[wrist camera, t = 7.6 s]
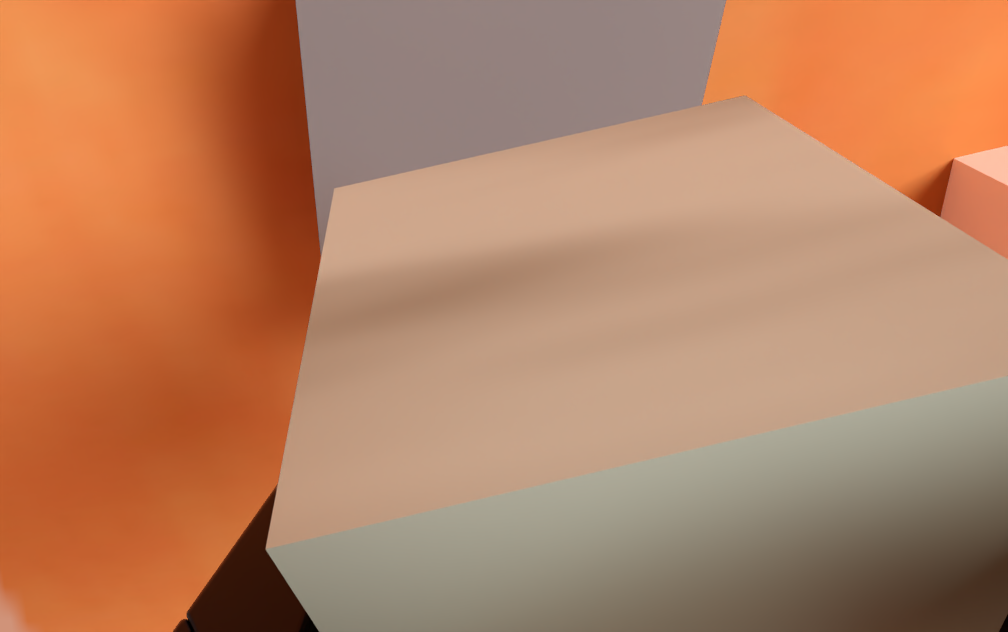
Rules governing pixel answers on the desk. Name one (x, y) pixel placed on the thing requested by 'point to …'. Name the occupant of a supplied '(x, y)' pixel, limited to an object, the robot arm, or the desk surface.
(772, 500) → the cube block
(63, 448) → the desk surface
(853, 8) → the desk surface
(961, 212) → the off-white block
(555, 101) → the grey base block
